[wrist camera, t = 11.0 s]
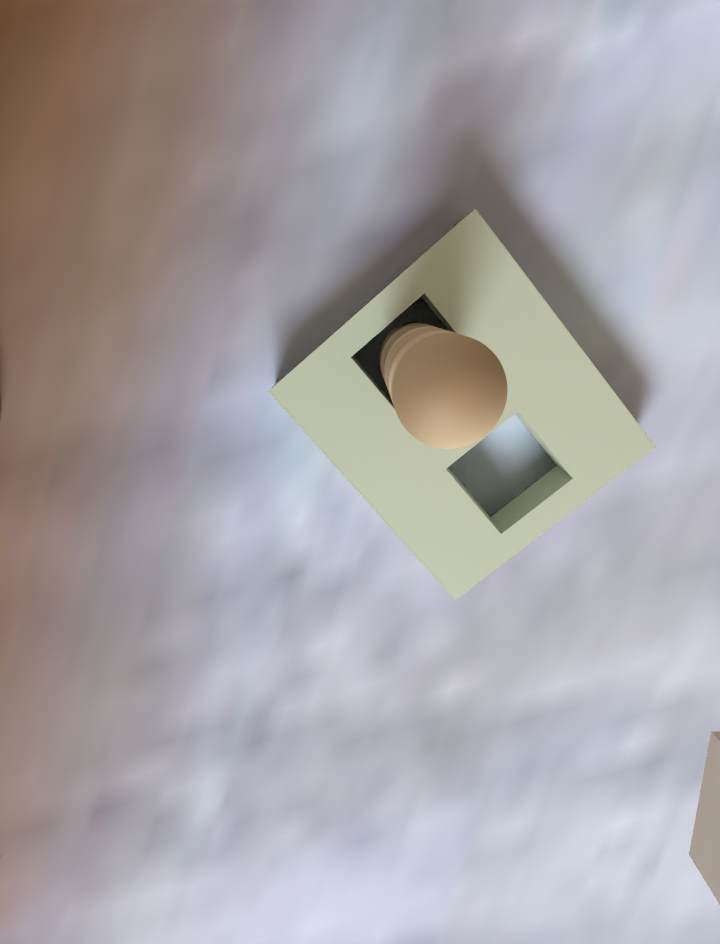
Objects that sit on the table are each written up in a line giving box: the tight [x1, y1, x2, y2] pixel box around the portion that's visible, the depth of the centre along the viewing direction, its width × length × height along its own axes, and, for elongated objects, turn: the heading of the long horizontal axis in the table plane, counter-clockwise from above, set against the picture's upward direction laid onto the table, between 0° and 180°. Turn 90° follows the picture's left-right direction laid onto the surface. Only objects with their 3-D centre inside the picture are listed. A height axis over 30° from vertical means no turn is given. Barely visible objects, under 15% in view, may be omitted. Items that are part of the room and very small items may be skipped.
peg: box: [379, 322, 508, 449], centre depth 30 cm, size 4×4×15 cm
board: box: [268, 209, 656, 600], centre depth 37 cm, size 16×14×3 cm
